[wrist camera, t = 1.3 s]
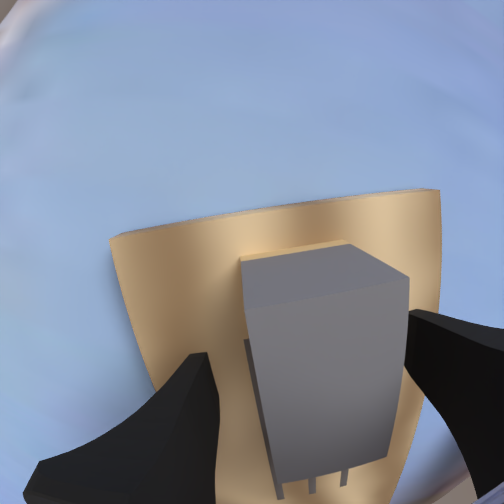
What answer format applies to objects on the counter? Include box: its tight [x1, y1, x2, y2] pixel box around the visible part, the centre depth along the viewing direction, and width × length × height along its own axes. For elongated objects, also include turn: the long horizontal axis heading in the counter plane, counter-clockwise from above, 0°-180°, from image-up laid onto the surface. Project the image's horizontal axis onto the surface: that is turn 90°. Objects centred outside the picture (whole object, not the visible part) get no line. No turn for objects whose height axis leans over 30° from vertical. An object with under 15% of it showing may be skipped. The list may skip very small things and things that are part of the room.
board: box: [109, 188, 442, 504], centre depth 15 cm, size 14×26×2 cm, turn 9°
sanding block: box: [240, 240, 410, 484], centre depth 10 cm, size 4×7×5 cm, turn 9°
